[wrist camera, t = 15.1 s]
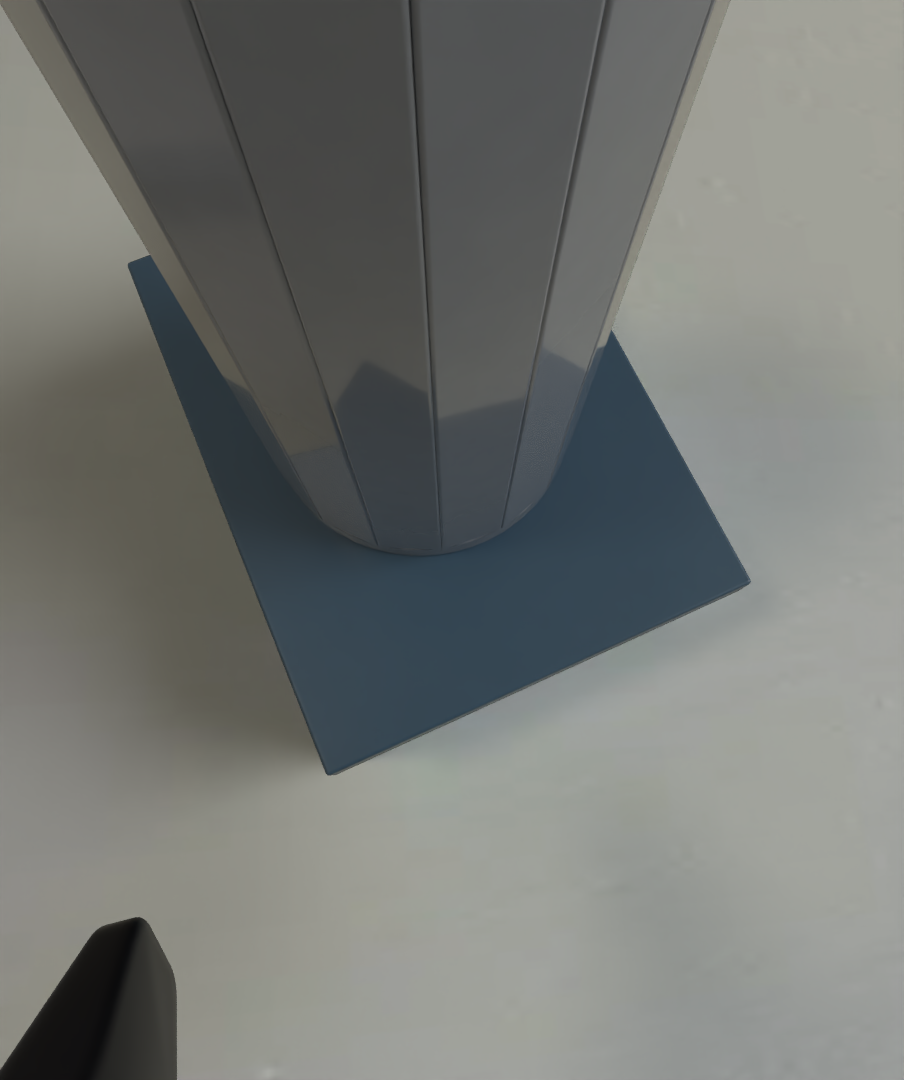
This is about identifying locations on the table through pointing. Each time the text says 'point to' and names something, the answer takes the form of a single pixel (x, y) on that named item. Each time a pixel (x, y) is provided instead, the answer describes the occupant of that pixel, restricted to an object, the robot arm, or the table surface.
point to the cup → (389, 220)
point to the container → (455, 562)
